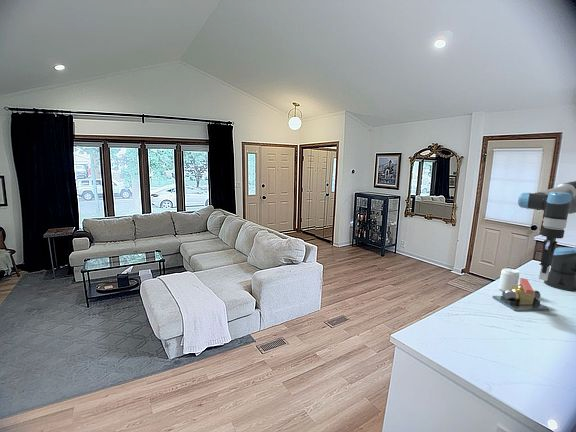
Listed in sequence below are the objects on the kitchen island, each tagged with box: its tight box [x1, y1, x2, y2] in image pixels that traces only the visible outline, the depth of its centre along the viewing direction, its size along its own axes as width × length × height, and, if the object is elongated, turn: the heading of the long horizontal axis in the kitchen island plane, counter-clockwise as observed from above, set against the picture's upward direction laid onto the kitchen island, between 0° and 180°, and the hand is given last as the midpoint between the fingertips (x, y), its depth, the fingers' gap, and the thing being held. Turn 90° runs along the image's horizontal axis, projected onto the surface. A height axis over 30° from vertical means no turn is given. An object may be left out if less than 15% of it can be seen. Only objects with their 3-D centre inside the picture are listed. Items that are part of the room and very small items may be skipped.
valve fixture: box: [492, 284, 550, 312], centre depth 150 cm, size 18×14×10 cm
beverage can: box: [498, 267, 520, 292], centre depth 166 cm, size 8×8×12 cm
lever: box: [519, 277, 535, 295], centre depth 143 cm, size 17×3×4 cm, turn 150°
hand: (543, 279), depth 133 cm, fingers closed
